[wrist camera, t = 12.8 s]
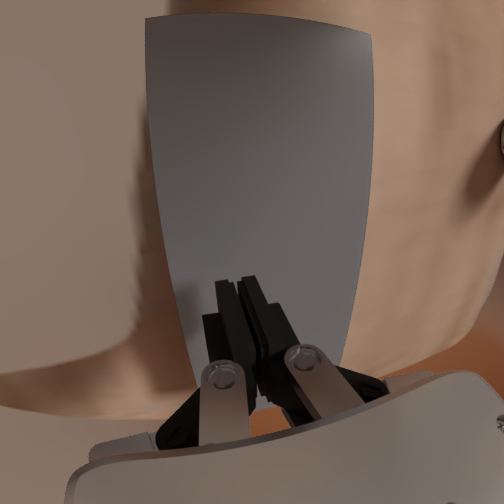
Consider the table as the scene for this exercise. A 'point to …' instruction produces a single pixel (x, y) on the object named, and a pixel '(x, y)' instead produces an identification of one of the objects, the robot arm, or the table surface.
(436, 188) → the table surface
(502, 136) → the soda can
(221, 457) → the robot arm
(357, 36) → the lid
